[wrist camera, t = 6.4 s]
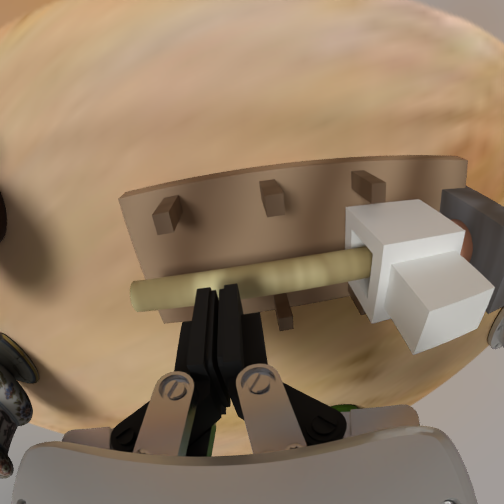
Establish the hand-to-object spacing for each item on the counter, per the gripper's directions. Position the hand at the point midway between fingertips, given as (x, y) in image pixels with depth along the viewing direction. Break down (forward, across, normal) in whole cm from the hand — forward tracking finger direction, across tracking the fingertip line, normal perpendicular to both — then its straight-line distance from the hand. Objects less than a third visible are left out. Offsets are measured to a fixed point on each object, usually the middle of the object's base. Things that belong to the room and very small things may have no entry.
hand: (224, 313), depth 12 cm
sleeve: (+4, -9, 0) cm, 10 cm away
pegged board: (+6, -6, 0) cm, 8 cm away
